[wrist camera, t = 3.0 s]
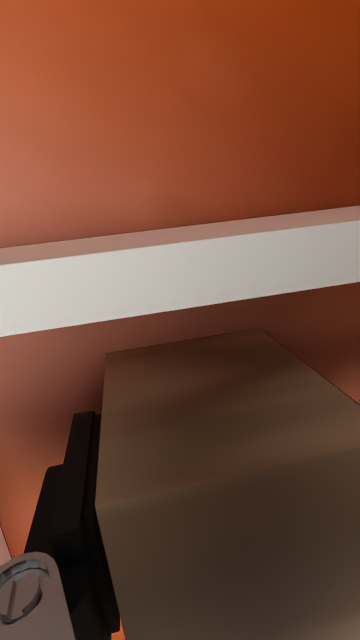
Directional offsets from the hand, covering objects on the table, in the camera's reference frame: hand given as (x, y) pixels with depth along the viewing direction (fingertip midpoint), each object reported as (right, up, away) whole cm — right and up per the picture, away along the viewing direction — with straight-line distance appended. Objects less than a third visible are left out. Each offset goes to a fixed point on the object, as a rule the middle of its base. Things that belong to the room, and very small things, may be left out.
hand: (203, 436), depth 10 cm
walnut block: (0, 0, +2) cm, 2 cm away
